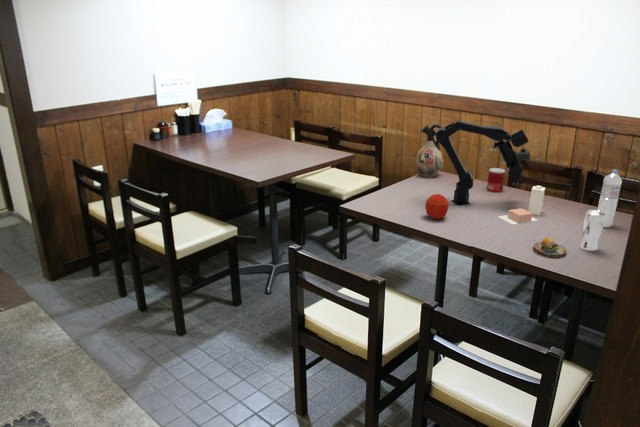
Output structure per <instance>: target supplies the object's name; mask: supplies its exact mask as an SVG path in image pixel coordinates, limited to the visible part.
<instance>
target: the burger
mask: <svg viewBox="0 0 640 427" xmlns="http://www.w3.org/2000/svg"><path fill="white" fill-rule="evenodd" d="M532 250H533V253H536V255H538V254H541V255H542V256H541V255H540V256H541V257H544V258H545V257H546V258H550V259H561V258H560V257H562V258H564V257H565V256H566V254H567V249H566V248H565V247H564V246H562V245H560V244H559V243H556V242H555V239H553V238H552V237H545V238H543V239H542V241H538V242H535V243H534V244H533V247H532Z"/></svg>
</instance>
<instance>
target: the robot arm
mask: <svg viewBox="0 0 640 427" xmlns="http://www.w3.org/2000/svg"><path fill="white" fill-rule="evenodd" d="M458 131H463V132H468V133H472V134H477V135H481V136H485V137H487V138H489V139H491V140H494V141H493V144H492V148H493V149H495V148H497V149H498V151H499V152H500V155H501V158H502V159H503V162H504V163H505V166H506V167H507V172H508V174H509V176H510V177H511V178H513V179H514V180H515V181H517V183H519V184H520V185H524V180H523V176H522V175H523V174H522V173H523V171H524V169H523V166H522V164H521V161H530V160H531V153H530V151H529V150H526V149H525V148H521V149H520V150H519V151H518V152H516V150H515V149H514V148H513V147H515V148H520V147H521V146H524V145H527V144H528V143H530V142H529V139H528V137H527V135H526V133H525V132H524V130H523V129H522V128H521V129H519V130H517V131H515V132H513V133H510V132H508V131H506V130H505V129H504V128H503V127H502V126H501V125H500V126H499V125H498V126H497V125H496V126H495V125H490V126H488V125H487V126H486V125H481V124H476V123H472V122H468V121H463V120H461V119H457V120H455V121H453V122H451V123H450V124H448V125H446V126H444V127H443V126H442V127H441V128H437V130H436V131H435V132H436V136H435V140H438V142H439V145H441V147H442V148H444V150H445V152H446V154H447V156H448V158H449V160H450V161H451V163H452V165H453V168H454V169H455V171H456V173H457V176H458V180H459V181H457V183H455V189H454V190H453V199H452V200H451V202H452V203H453V204H456V205H457V206H462V205H468V204H470V201H469V200H470V191H469V190H471V189H472V188H473V186H474V181H475V180H474V175H472V172H471V170H470V169H469V170H466V169H465V167H464V165H463V163H462V161H461V159H460V158H459V155H458V154H457V151H456V149H455V147H454V146H453V144H452V140H451V137H452V135H454V134H455V133H457V132H458Z"/></svg>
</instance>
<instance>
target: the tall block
mask: <svg viewBox="0 0 640 427" xmlns="http://www.w3.org/2000/svg"><path fill="white" fill-rule="evenodd" d="M545 191H546V187H543V186H542V185H536V186H535V185H534V186H532V188H531V193H530V196H529V197H530V198H529V203H528V204H529V205H528V209H527V211H528V212H530V213H532V215H533V216H540V215H541V213H542V209H543V203H544V197H545Z"/></svg>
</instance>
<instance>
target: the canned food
mask: <svg viewBox="0 0 640 427" xmlns="http://www.w3.org/2000/svg"><path fill="white" fill-rule="evenodd" d="M505 176H506V170H505V169H503V168H500V167H499V168H498V167H491V168H489V170H488V175H487V185H486V190H487V191H488V192H492V193H501V192H502V191H503V190H504V183H505V182H504V181H505Z"/></svg>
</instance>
